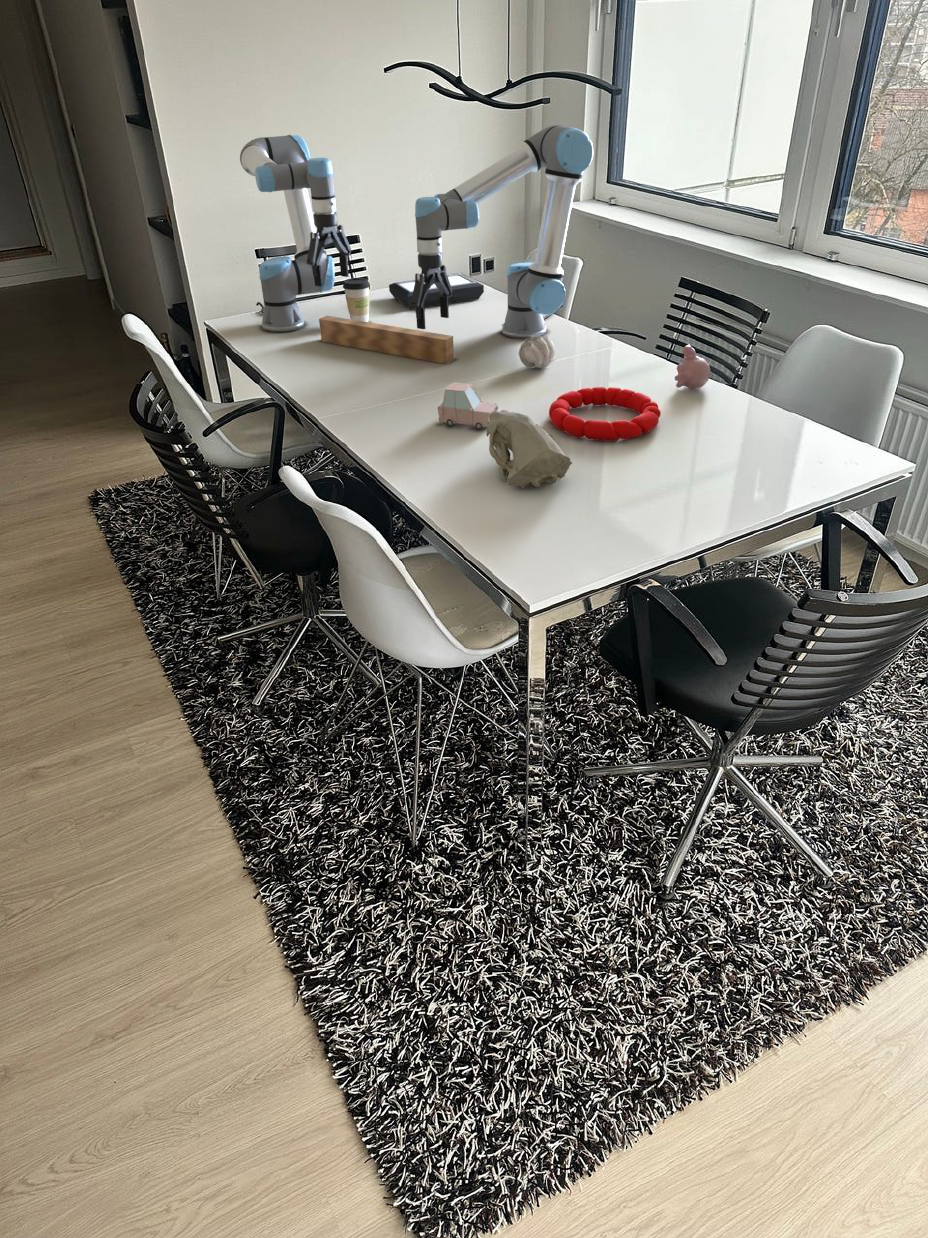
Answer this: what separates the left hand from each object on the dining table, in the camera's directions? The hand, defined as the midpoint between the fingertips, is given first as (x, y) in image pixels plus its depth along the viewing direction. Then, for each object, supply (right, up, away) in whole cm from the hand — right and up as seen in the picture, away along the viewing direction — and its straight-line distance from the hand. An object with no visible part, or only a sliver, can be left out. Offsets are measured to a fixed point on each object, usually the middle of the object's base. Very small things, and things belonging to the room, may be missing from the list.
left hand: (332, 280), depth 298 cm
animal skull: (+58, -76, -77) cm, 123 cm away
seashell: (+68, -33, -16) cm, 77 cm away
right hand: (+34, -18, -12) cm, 41 cm away
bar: (+18, -22, +3) cm, 29 cm away
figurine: (+111, -45, -35) cm, 125 cm away
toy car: (+45, -59, -52) cm, 91 cm away
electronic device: (+33, +13, +53) cm, 64 cm away
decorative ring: (+83, -59, -54) cm, 115 cm away
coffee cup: (+6, -4, +30) cm, 30 cm away
